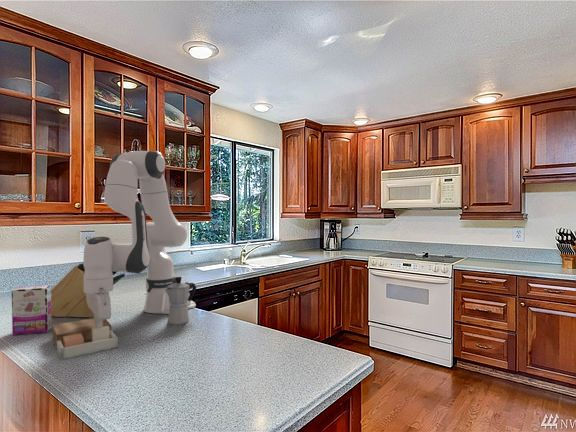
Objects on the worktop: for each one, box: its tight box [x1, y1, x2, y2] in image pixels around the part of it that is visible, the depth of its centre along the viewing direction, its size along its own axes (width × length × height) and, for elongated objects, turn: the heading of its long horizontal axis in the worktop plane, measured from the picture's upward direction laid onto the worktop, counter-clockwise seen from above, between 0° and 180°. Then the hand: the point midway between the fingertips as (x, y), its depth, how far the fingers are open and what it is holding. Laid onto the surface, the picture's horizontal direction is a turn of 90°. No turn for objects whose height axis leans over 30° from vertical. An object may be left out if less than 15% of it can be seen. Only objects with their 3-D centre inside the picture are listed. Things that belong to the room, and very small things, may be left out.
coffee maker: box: [165, 276, 197, 326], centre depth 146 cm, size 15×9×18 cm, turn 143°
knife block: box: [51, 262, 126, 319], centre depth 153 cm, size 11×35×31 cm, turn 87°
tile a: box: [92, 326, 109, 342], centre depth 121 cm, size 5×5×2 cm
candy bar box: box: [11, 285, 53, 336], centre depth 132 cm, size 11×5×16 cm, turn 105°
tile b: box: [63, 333, 84, 347], centre depth 115 cm, size 5×5×2 cm
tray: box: [56, 329, 119, 361], centre depth 117 cm, size 16×9×3 cm, turn 128°
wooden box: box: [52, 317, 112, 350], centre depth 125 cm, size 16×12×5 cm
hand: (98, 326), depth 122 cm, fingers closed
